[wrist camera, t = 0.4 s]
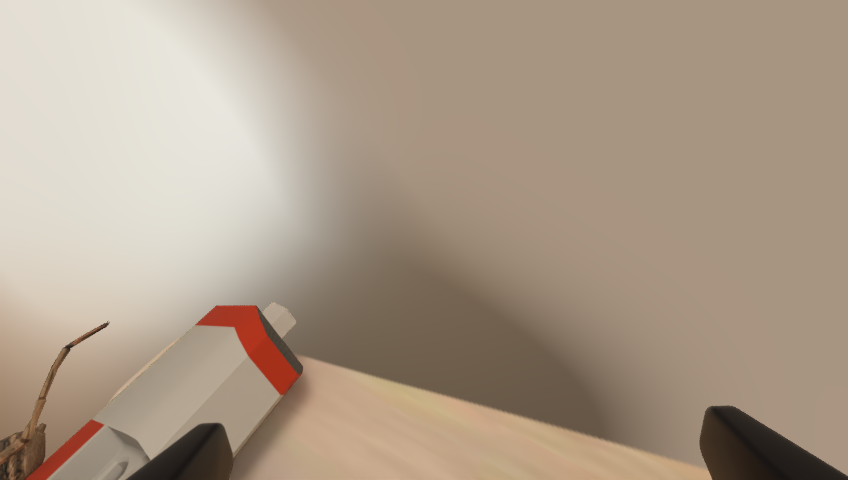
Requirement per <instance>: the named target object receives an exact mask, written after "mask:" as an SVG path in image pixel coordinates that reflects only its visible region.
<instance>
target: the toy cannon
mask: <svg viewBox="0 0 848 480" xmlns="http://www.w3.org/2000/svg"><path fill="white" fill-rule="evenodd" d="M295 323H296V321H295V319H294V318H293V316H292V315H291V314H290V312H289V311H288V310H287V308H284V307H282V306H280V305H278V304H276V303H274V302H272V303H271V304H270V305H269V306H268V307H267V308H266V309H265V310H264V311H263V312H261V311H260V310H259V309H258V307H257V306H215V308H213V309H212V310H211V311H210V312H209V313H208V314H207V315H206V316H204V317H203V318H202V319H201V320H200V321H199V322H198V323H197V324H196V325H195V326H194V327H192V328H191V329H190V330H189V331H188V332H187V333H186V334H185V335H184V336H182V337H181V338H180V339H179V340H178V341H177V342H176V343H175V344H174V345H173V346H171V347H170V348H169V349H168V350H167V351H166V352H165V353H164V354H163V355H162V356H160V357H159V358H158V359H157V360H156V361H155V362H154V363H153V364H152V365H151V366H149V367H148V368H147V369H146V370H145V371H144V372H143V373H142V374H141V375H140V376H138V377H137V378H136V379H135V380H134V381H133V382H132V383H131V384H130V385H129V386H127V387H126V388H125V389H124V390H123V391H122V392H121V393H120V394H119V395H118V396H116V397H115V398H114V399H113V400H112V401H111V402H110V403H109V404H108V405H107V406H105V407H104V408H103V409H102V410H101V411H100V412H99V413H98V414H97V415H96V416H95V417H93V418H92V419H91V420H90V421H89V422H88V423H87V424H86V425H85V426H84V427H82V428H81V429H80V430H79V431H78V432H77V433H76V434H75V435H74V436H72V437H71V438H70V439H69V440H68V441H67V442H66V443H65V444H64V445H63V446H61V447H60V448H59V449H58V450H57V451H56V452H55V453H54V454H53V455H52V456H50V457H49V458H48V459H47V460H46V461H45V462H44V463H43V464H42V465H41V466H39V467H38V468H37V469H36V470H35V471H34V472H33V473H32V474H31V475H30V476H28V477H27V478H26V479H25V480H125V479H127V478H128V477H129V476H131V475H132V474H133V473H135V472H136V471H137V470H139V469H140V468H141V467H143V466H144V465H145V464H147V463H148V462H149V461H151V460H152V459H153V458H154V457H156V456H157V455H158V454H160V453H161V452H162V451H164V450H165V449H166V448H168V447H169V446H170V445H172V444H173V443H174V442H176V441H177V440H178V439H180V438H181V437H182V436H184V435H185V434H186V433H187V432H189V431H190V430H191V429H193V428H194V427H195V426H197V425H199V424H201V423H217V422H218V423H221V424H222V425H223V426H224V427H225V430H226V433H227V436H228V440H229V443H230V446H231V449H232V452H233V458H234V457H235V456H236V455H237V453H238V452H239V451H240V450H241V448H242V447H243V446H244V445H245V443H246V442H247V441H248V440H249V439H250V437H251V436H252V435H253V434H254V432H255V431H256V430H257V429H258V427H259V426H260V425H261V424H262V422H263V421H264V420H265V419H266V417H267V416H268V415H269V414H270V412H271V411H272V410H273V409H274V407H275V406H276V405H277V404H278V402H279V401H280V400H281V399H282V398H283V396H284V395H285V394H286V393H287V391H288V390H289V389H290V388H291V386H292V385H293V384H294V383H295V381H296V380H297V379H298V378H299V376H300V375H301V374H302V371H303V366H302V365H301V363H300V362H299V361H298V360H297V358H296V357H295V356H294V354H293V353H292V352H291V350H290V349H289V348H288V347H287V345H286V344H285V343H284V341H283V340H282V338H283V337H284V336H285V335H286V334H287V333H288V332H289V331H290V330H291V328H292V327H293V326H294V325H295Z"/></svg>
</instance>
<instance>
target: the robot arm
mask: <svg viewBox="0 0 848 480" xmlns="http://www.w3.org/2000/svg"><path fill="white" fill-rule="evenodd" d="M700 450H701V453H702V456H703V458H704V461H705V463H706V465H707V468H708V470H709V473H710V475H711V477H712V480H848V476H846V475H845V474H843V473H842V472H840V471H838V470H837V469H835V468H834V467H832V466H830V465H829V464H827V463H825V462H824V461H822V460H821V459H819V458H817V457H816V456H814V455H812V454H811V453H809V452H808V451H806V450H804V449H802V448H801V447H799V446H798V445H796V444H795V443H793V442H791V441H790V440H788V439H786V438H785V437H783V436H781V435H780V434H778V433H777V432H775V431H773V430H772V429H770V428H768V427H767V426H765V425H764V424H762V423H760V422H759V421H757V420H755V419H754V418H752V417H751V416H749V415H747V414H746V413H744V412H742V411H741V410H739V409H737V408H736V407H733V406H711V407H708V408H707V410H706V411H705V415H704V420H703V426H702V430H701V435H700ZM232 466H233V452H232V449H231V446H230V443H229V440H228V436H227V433H226V430H225V427H224V426H223V425H222V424H221V423H218V422H217V423H201V424H199V425H197V426H195V427H194V428H193V429H191V430H190V431H189V432H187V433H186V434H185V435H184V436H182V437H181V438H180V439H178V440H177V441H176V442H174V443H173V444H172V445H170V446H169V447H168V448H166V449H165V450H164V451H162V452H161V453H160V454H158V455H157V456H156V457H154V458H153V459H152V460H151V461H149V462H148V463H147V464H145V465H144V466H143V467H141V468H140V469H139V470H137V471H136V472H135V473H133V474H132V475H131V476H129V477H128V478H127V479H125V480H229V476H230V473H231V470H232Z"/></svg>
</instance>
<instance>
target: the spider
mask: <svg viewBox="0 0 848 480" xmlns="http://www.w3.org/2000/svg"><path fill="white" fill-rule="evenodd" d="M108 324H109V323H108ZM108 324H107V323H106V324H105V323H104V324H103V325H101V326H99V327H97V328H95V329H93V330H92V331H90V332H88V333H86V334H85V335H83V336H81V337H80V338H78V339H76V340H75V341H73V342H72V343H70V344H69V345H67V346H66V347H64V348H63V349H62V351H61V352H60V354H59V355H58V357H57V359H56V360H55V362H54V364H53V365H52V367H51V370H50V372H49V374H48V377H47V379H46V381H45V384H44V386H43V388H42V391H41V393H40V396H39V399H38V400H37V401H36V403H35V407H34V411H33V415H32V419H31V421H30V422H29V424H28V425H27V427H26V428H25V430H24V431H22V432H18V433H15V434H13V435H11V436H9V437H7V438H5V439H3V440H1V441H0V480H25V479H26V478H27V477H28V476H30V475H31V474H32V473H33V472H34V471H35V470H36V469H37V468H38V467H39V466H41V465H42V463H43V460H44V458H45V433H44V430H45V428H46V424H43V423H42V424H40V425H39V426H38V427H37V428H36V425H37V421H38V418H39V416H40V414H41V411H42V409H43V407H44V404H45V402H46V398H45V397H46V396H47V394H48V391H49V389H50V386H51V384H52V382H53V379H54V377H55V375H56V372H57V370H58V368H59V366H60V365H61V363H62V362H63V360H64V359H65V357H66V356H67V354H68V353H69V351H70V348H72V347H73V346H75V345H77V344H78V343H80V342H81V341H83V340H85V339H86V338H88V337H90V336H91V335H93V334H95V333H96V332H98V331H100V330H101V329H103V328H105V327H107V325H108Z"/></svg>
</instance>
